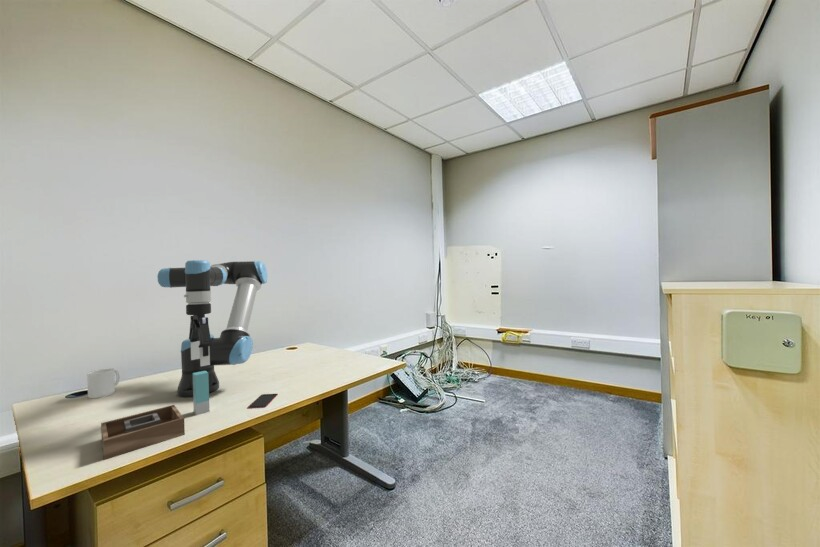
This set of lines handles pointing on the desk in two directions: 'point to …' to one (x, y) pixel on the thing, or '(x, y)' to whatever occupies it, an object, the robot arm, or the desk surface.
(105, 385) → the cup
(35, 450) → the desk surface
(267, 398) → the smartphone
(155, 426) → the connector box
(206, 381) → the connector plug
